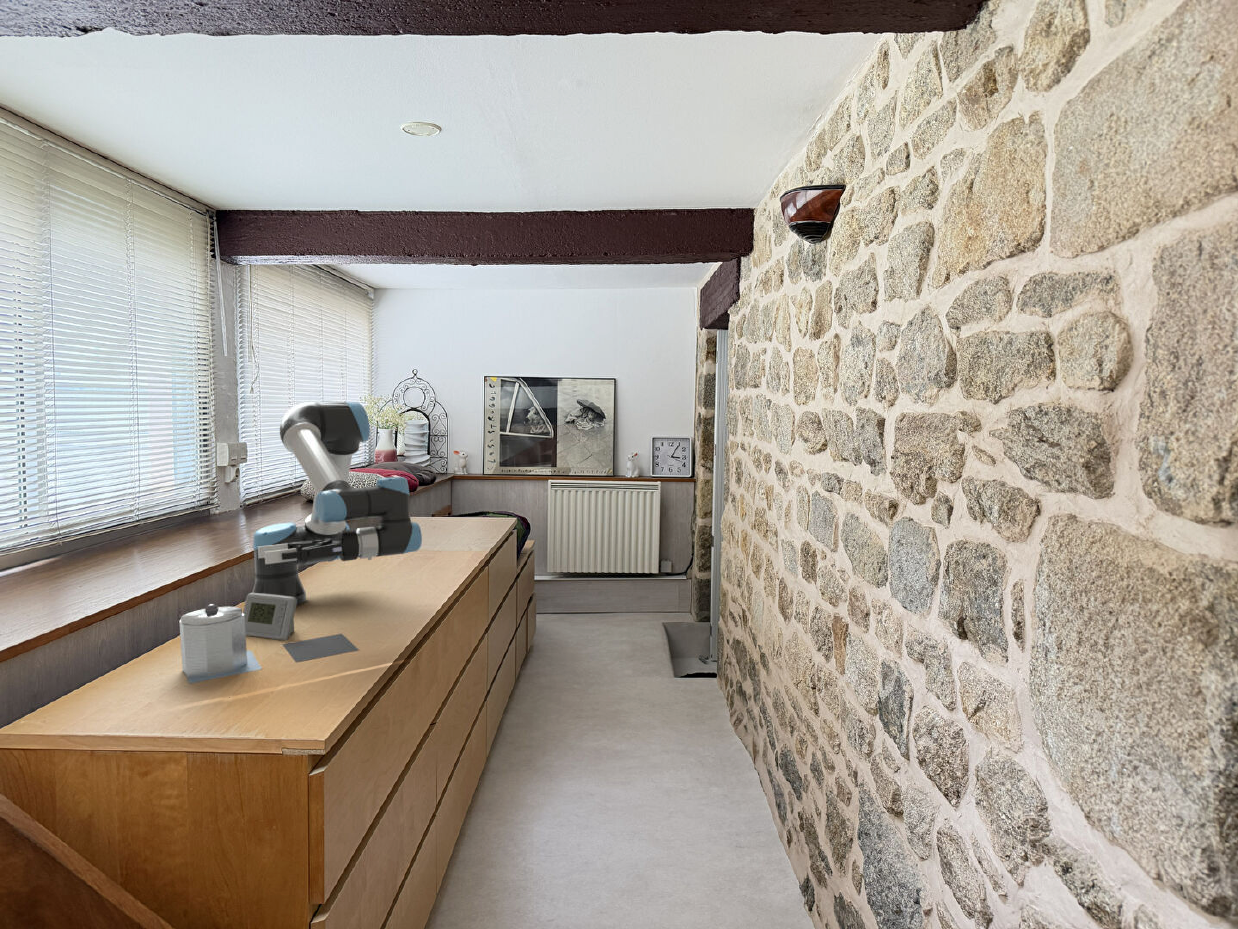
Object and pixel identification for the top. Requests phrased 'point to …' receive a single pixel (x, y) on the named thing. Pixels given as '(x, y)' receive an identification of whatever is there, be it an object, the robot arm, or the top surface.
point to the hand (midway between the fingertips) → (261, 555)
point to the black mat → (319, 647)
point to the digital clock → (269, 615)
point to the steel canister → (213, 641)
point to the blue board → (250, 666)
